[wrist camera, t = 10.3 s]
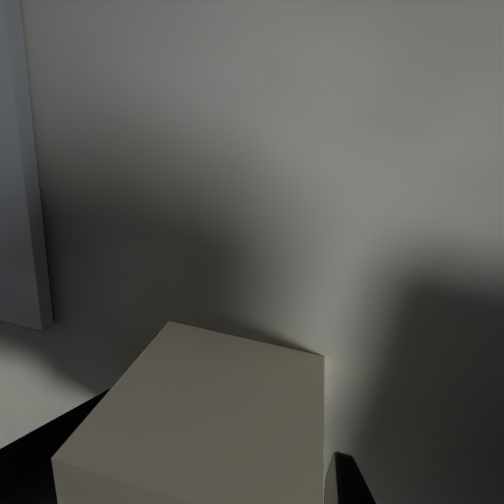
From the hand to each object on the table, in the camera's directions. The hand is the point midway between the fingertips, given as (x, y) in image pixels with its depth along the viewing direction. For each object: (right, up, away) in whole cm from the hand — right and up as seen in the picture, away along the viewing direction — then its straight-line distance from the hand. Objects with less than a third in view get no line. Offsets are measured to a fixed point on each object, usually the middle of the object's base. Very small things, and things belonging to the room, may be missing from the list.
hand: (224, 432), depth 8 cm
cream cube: (0, 0, +1) cm, 1 cm away
